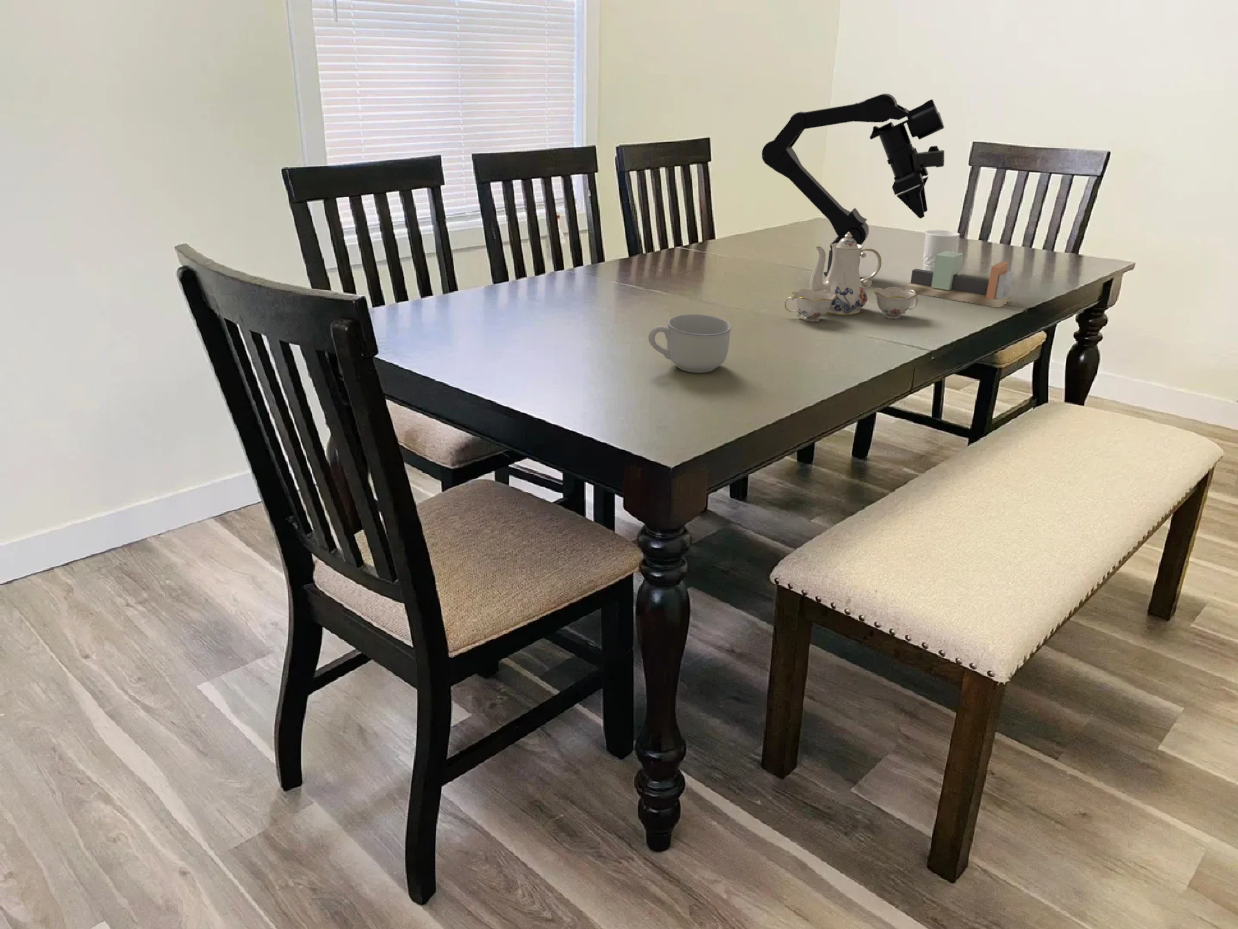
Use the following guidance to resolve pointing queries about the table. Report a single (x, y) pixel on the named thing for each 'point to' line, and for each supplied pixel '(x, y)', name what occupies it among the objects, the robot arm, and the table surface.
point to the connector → (1004, 285)
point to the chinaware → (847, 286)
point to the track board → (957, 295)
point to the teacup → (694, 341)
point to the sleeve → (946, 269)
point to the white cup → (938, 246)
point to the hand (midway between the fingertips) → (923, 214)
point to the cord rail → (957, 284)
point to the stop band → (995, 278)
